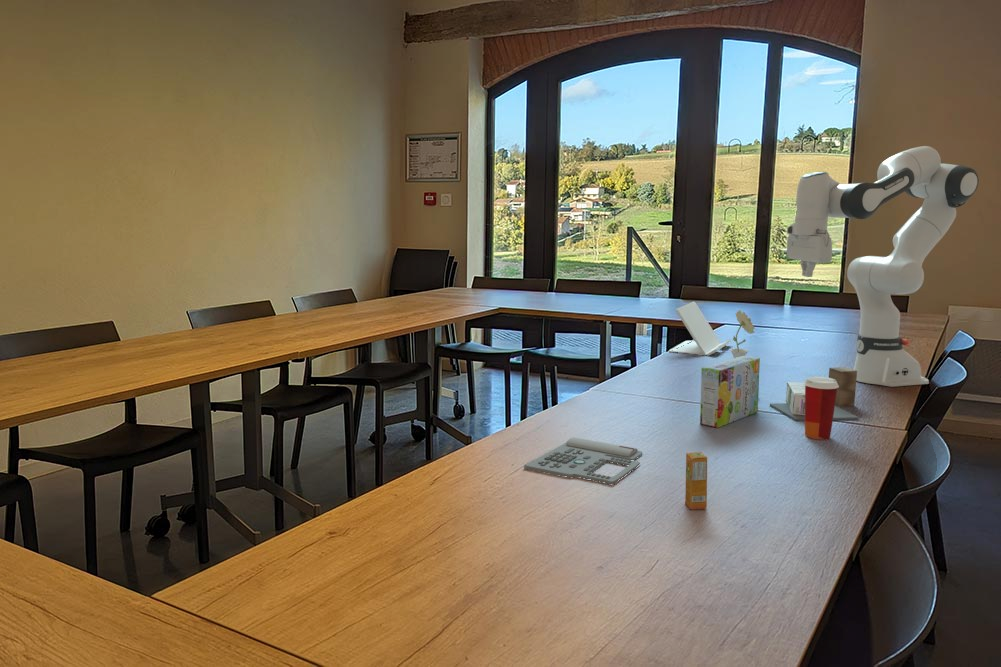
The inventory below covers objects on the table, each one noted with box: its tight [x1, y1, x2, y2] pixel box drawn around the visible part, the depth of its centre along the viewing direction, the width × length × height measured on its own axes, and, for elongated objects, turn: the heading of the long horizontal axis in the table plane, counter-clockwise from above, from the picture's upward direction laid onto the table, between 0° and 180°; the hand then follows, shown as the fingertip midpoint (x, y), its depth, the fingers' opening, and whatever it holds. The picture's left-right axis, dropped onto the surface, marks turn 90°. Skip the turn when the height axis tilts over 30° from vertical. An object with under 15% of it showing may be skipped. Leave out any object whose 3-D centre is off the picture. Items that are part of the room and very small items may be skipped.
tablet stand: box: [668, 301, 732, 357], centre depth 290 cm, size 18×25×17 cm
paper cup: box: [802, 376, 839, 440], centre depth 180 cm, size 8×8×14 cm
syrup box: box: [785, 381, 805, 415], centre depth 203 cm, size 6×6×14 cm
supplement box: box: [684, 451, 708, 510], centre depth 138 cm, size 3×3×10 cm
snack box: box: [699, 355, 761, 429], centre depth 195 cm, size 21×6×15 cm, turn 135°
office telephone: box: [523, 436, 643, 485], centre depth 163 cm, size 23×3×20 cm
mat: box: [769, 402, 859, 422], centre depth 202 cm, size 17×15×1 cm
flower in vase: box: [729, 309, 755, 358], centre depth 217 cm, size 13×11×25 cm
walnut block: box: [828, 366, 857, 408], centre depth 210 cm, size 5×5×10 cm
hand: (807, 276), depth 221 cm, fingers closed
